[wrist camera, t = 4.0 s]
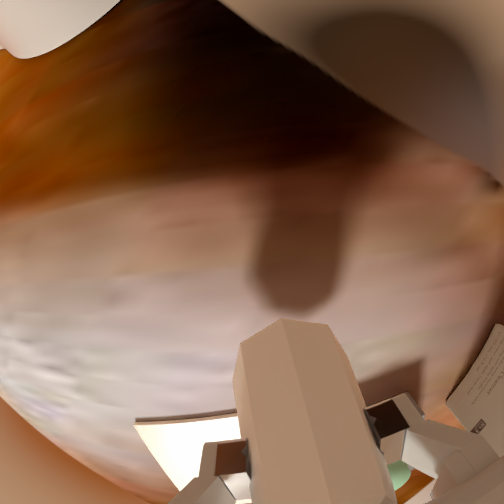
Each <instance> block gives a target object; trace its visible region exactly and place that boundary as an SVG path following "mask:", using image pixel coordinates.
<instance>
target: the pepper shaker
mask: <svg viewBox="0 0 504 504" xmlns="http://www.w3.org/2000/svg"><path fill="white" fill-rule="evenodd" d="M233 388H234V395H235V402H236V409H237V416H238V423H239V429H240V436H241V438H247V442H248V457H247V459H248V461H249V464H250V475H251V482H250V485H249V490H250V495H251V501H252V504H397V500H396V495H395V491H394V487H393V483H392V480H391V477H390V474H389V471H388V468H387V465H386V462H385V458H384V456H383V454H382V452H381V451H380V450H379V447H378V445H377V442H376V440H375V437H374V435H373V432H374V431H373V429H372V428H371V426H370V424H369V422H368V419H367V417H366V414H365V412H364V408H366V404H365V401H364V399H363V396H362V393H361V391H360V388H359V385H358V383H357V380H356V378H355V375H354V372H353V370H352V367H351V365H350V362H349V360H348V357H347V355H346V353H345V352H344V350H343V349H342V347H341V345H340V344H339V342H338V341H337V339H336V338H335V336H334V334H333V333H332V331H331V330H330V328H329V326H328V325H326V324H318V323H311V322H303V321H296V320H289V319H282V318H281V319H279V320H278V321H276V322H275V323H273V324H271V325H270V326H268V327H266V328H265V329H263V330H262V331H260V332H258V333H257V334H255V335H253V336H252V337H250V338H248V339H247V340H245V341H243V342H241V343H240V347H239V352H238V357H237V361H236V366H235V371H234V376H233Z"/></svg>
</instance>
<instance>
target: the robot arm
mask: <svg viewBox="0 0 504 504" xmlns="http://www.w3.org/2000/svg"><path fill="white" fill-rule="evenodd" d="M119 1H120V0H0V49H6V50H7V51H8V52H10V53H11V54H12V55H13V56H15V57H17V58H32V57H36V56H39V55H42V54H44V53H47V52H49V51H51V50H53V49H55V48H57V47H59V46H60V45H62V44H64V43H66V42H67V41H69V40H70V39H72V38H73V37H75V36H76V35H78V34H79V33H81V32H82V31H84V30H85V29H86V28H88V27H89V26H90V25H92V24H93V23H94V22H96V21H97V20H98V19H99V18H101V17H102V16H103V15H104V14H106V13H107V12H108V11H109V10H110V9H111V8H112V7H114V6H115V5H116V4H117V3H118V2H119ZM364 412H365V414H366V417H367V419H368V422H369V424H370V426H371V428H372V429H373V431H374V432H373V435H374V437H375V440H376V442H377V445H378V447H379V450H380V451H381V452H382V454H383V456H384V458H385V462H386V465H389V464H391V463H394V462H396V461H399V460H401V459H402V460H401V461H403V462H405V463H407V464H409V465H410V466H412V467H414V468H416V469H418V470H420V471H421V472H423V473H425V474H427V475H429V476H431V477H433V478H435V479H437V481H436V483H435V485H434V487H433V490H432V492H431V494H430V496H431V498H432V501H430V502H428V503H425V504H504V455H503V456H502V457H501V458H500V457H499V456H498V455H497V453H496V452H495V451H494V449H493V448H492V447H491V446H490V444H489V443H488V442H487V441H486V439H485V438H484V437H483V436H482V435H479V434H475V433H472V432H468V431H465V430H461V429H458V428H455V427H451V426H448V425H445V424H442V423H439V422H436V421H433V420H430V419H428V420H424V419H423V418H422V416H421V415H420V413H419V412H418V410H417V409H416V408H415V406H414V405H413V404H412V402H411V401H410V399H409V398H408V397H407V395H406V394H404V393H402V394H400V395H397V396H395V397H392V398H390V399H387V400H385V401H382V402H379V403H377V404H374V405H371V406H369V407H366V408H364ZM247 457H248V442H247V438H241V439H233V440H223V441H214V442H205V443H204V445H203V449H202V456H201V462H200V469H199V476H198V477H194V478H193V479H192V480H191V481H190V482H189V483H188V484H187V485H186V486H185V487H184V488H183V489H182V490H181V491H180V492H179V493H178V494H177V495H176V496H175V497H174V498H173V499H172V500H171V501H170V502H169V503H168V504H235V503H236V500H245V499H251V495H250V490H249V485H250V482H251V475H250V464H249V461H248V459H247Z"/></svg>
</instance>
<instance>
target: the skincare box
mask: <svg viewBox="0 0 504 504" xmlns="http://www.w3.org/2000/svg"><path fill="white" fill-rule="evenodd" d="M446 405H447V407H448V408H449V409H450V410H451V412H452V413H453V414H454V415H455V416H456V418H457V419H458V420H459V421H460V423H461V424H462V425H463V427H464V428H465V429H466V430H467V431H468V432H472V433H475V434H479V435H482V436H483V437H484V438H485V439H486V441H487V442H488V443H489V444H490V446H491V447H492V448H493V449H494V451H495V452H496V453H497V455H498V456H499V457H500V458H501V457H502V456H503V455H504V326H503V325H501V324H495V326H494V328H493V330H492V331H491V333H490V336H489V338H488V340H487V342H486V344H485V345H484V347H483V349H482V351H481V352H480V354H479V356H478V357H477V359H476V361H475V362H474V364H473V365H472V367H471V369H470V370H469V372H468V373H467V375H466V376H465V378H464V379H463V380H462V382H461V383H460V384H459V386H458V387H457V388H456V390H455V391H454V392H453V393H452V395H451V396H450V397H449V398H448V400H447V402H446Z"/></svg>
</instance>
